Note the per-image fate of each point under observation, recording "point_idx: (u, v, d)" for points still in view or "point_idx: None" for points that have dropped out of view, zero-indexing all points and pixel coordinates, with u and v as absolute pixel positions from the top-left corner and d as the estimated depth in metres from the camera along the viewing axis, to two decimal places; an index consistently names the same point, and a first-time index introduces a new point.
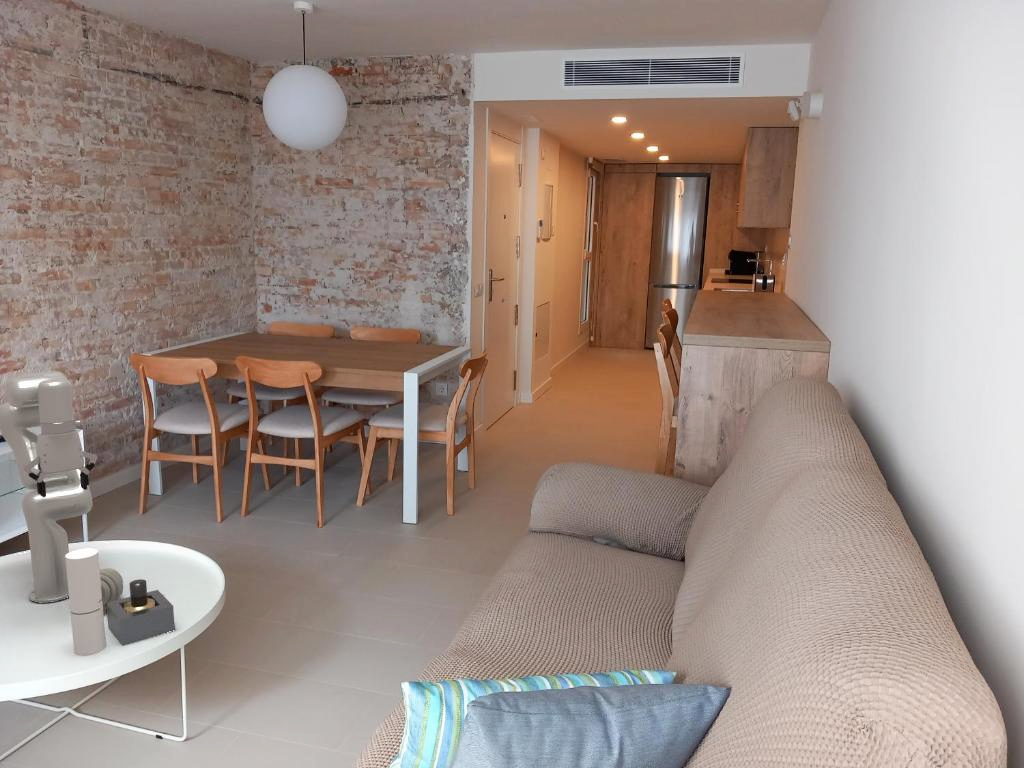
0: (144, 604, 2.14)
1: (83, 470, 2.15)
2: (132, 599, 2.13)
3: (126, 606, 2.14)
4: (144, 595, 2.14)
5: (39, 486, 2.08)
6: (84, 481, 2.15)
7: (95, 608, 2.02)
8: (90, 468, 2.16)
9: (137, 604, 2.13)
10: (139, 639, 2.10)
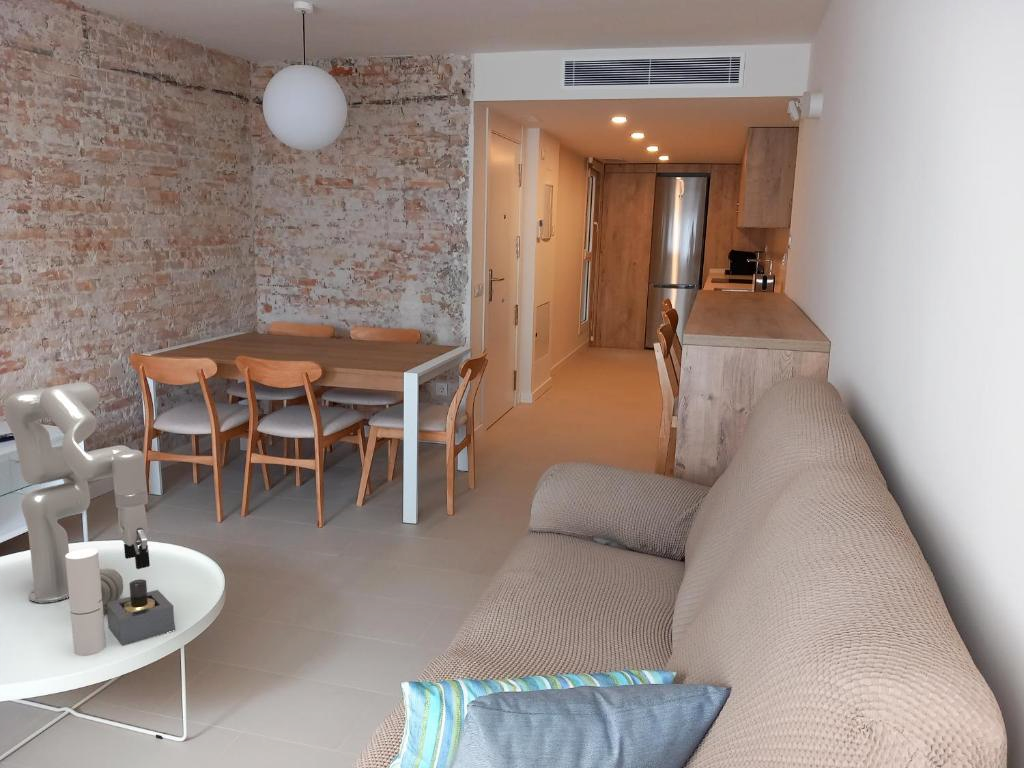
0: (144, 604, 2.14)
1: None
2: (132, 599, 2.13)
3: (126, 606, 2.14)
4: (144, 595, 2.14)
5: (146, 556, 2.09)
6: None
7: (95, 608, 2.02)
8: None
9: (137, 604, 2.13)
10: (139, 639, 2.10)
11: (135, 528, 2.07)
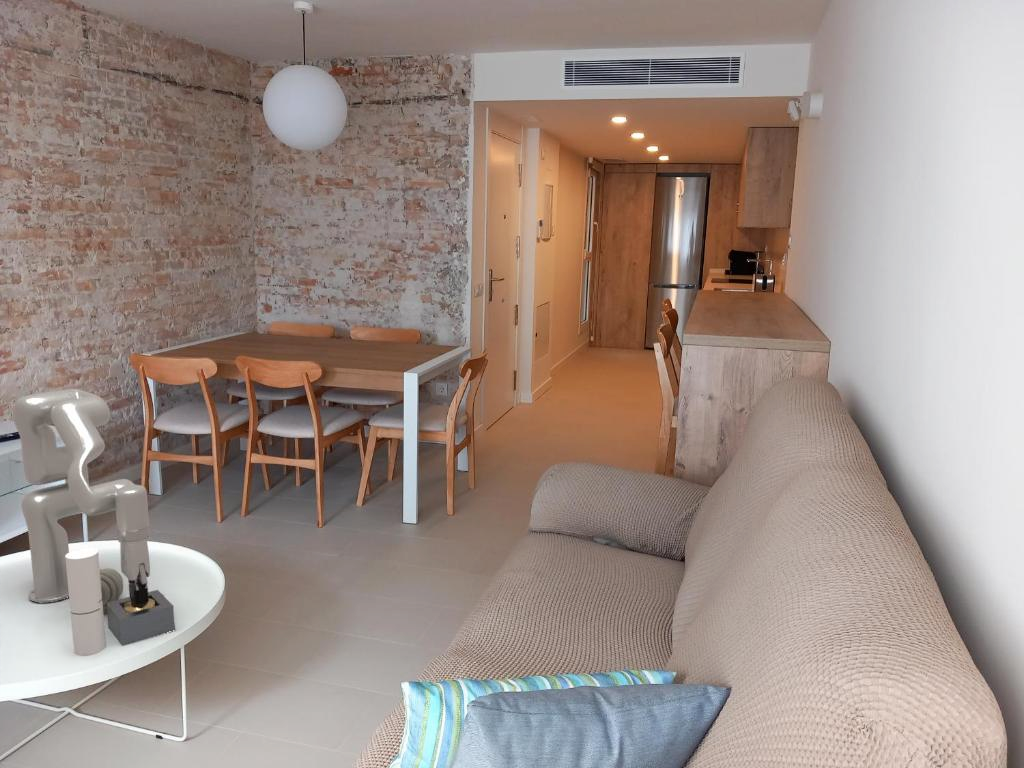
0: (144, 604, 2.14)
1: (140, 575, 2.17)
2: (132, 599, 2.13)
3: (126, 606, 2.14)
4: None
5: (145, 592, 2.13)
6: None
7: (95, 608, 2.02)
8: None
9: None
10: (139, 639, 2.10)
11: (137, 563, 2.09)
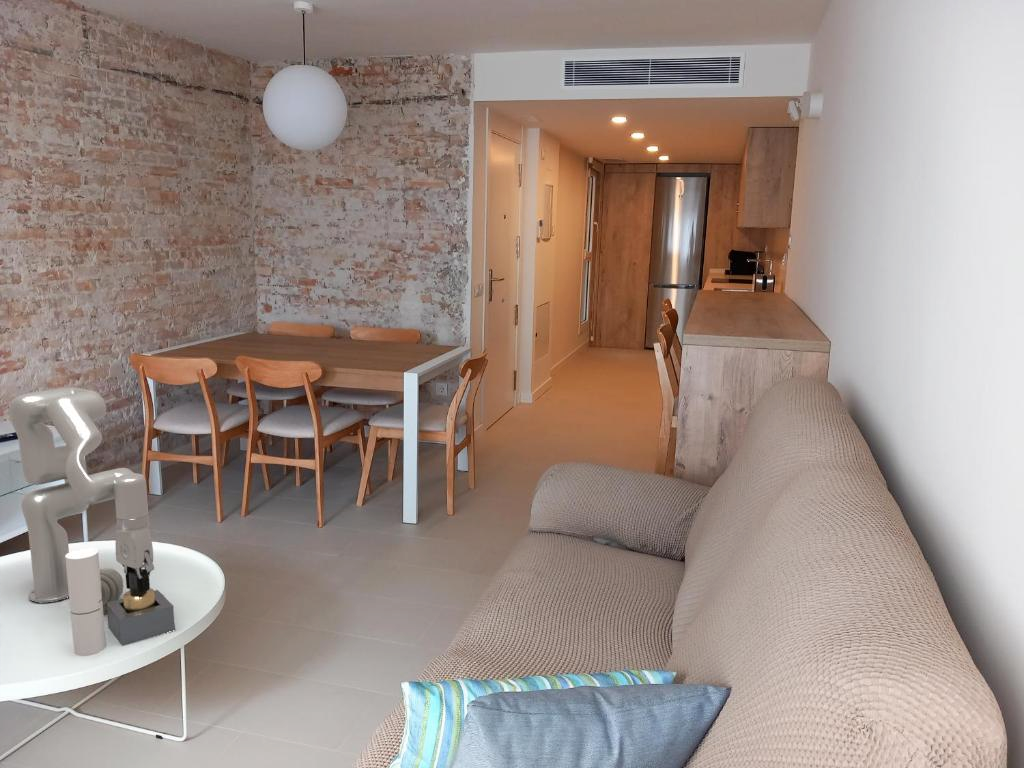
0: (143, 593, 2.14)
1: None
2: (131, 588, 2.13)
3: (125, 595, 2.13)
4: None
5: None
6: None
7: (95, 608, 2.02)
8: None
9: (136, 593, 2.13)
10: (139, 639, 2.10)
11: (143, 551, 2.09)
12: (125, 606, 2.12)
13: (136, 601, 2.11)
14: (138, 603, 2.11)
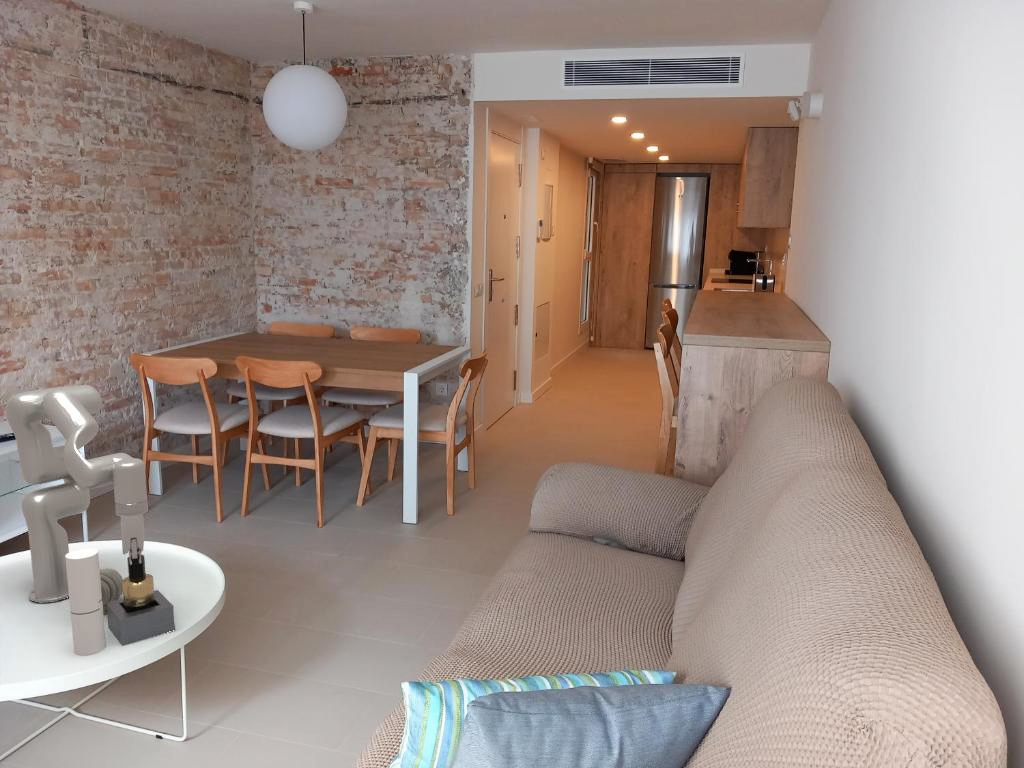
0: (142, 579, 2.13)
1: None
2: None
3: (124, 581, 2.13)
4: None
5: (139, 567, 2.11)
6: None
7: (95, 608, 2.02)
8: (138, 549, 2.17)
9: (135, 579, 2.12)
10: (139, 639, 2.10)
11: (129, 537, 2.07)
12: (124, 592, 2.12)
13: (135, 587, 2.11)
14: (137, 589, 2.11)
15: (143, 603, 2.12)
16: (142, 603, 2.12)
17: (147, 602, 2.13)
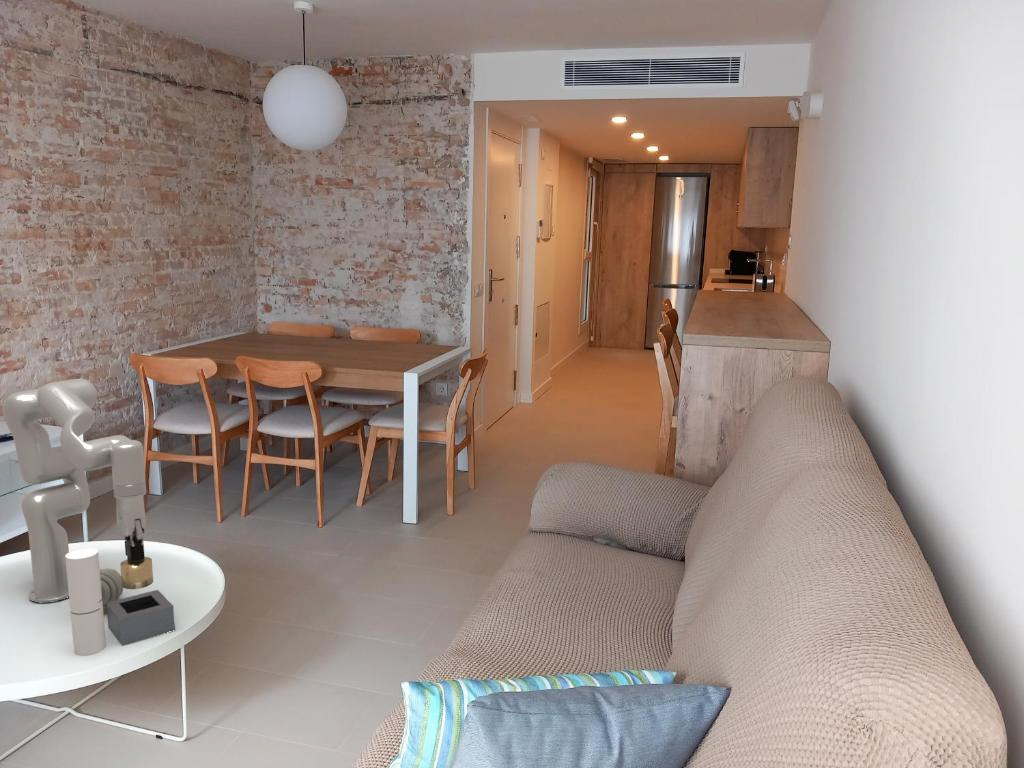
0: (141, 562, 2.12)
1: None
2: (129, 556, 2.11)
3: (122, 563, 2.12)
4: None
5: (141, 549, 2.10)
6: None
7: (95, 608, 2.02)
8: None
9: (134, 561, 2.11)
10: (139, 639, 2.10)
11: (133, 519, 2.06)
12: (122, 574, 2.11)
13: (134, 569, 2.10)
14: (136, 572, 2.10)
15: (142, 586, 2.11)
16: (141, 586, 2.11)
17: (146, 585, 2.12)
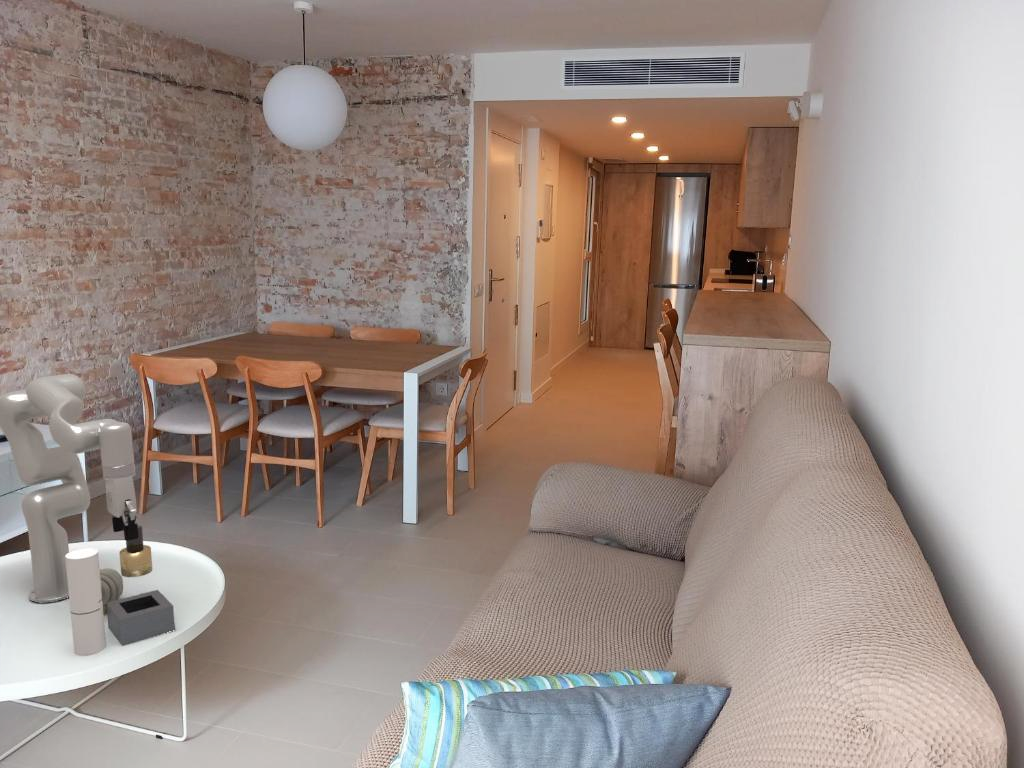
0: (140, 550, 2.12)
1: None
2: (128, 544, 2.11)
3: (121, 551, 2.11)
4: (139, 541, 2.11)
5: (134, 528, 2.09)
6: None
7: (95, 608, 2.02)
8: None
9: (133, 549, 2.11)
10: (139, 639, 2.10)
11: (123, 499, 2.07)
12: (121, 562, 2.10)
13: (133, 557, 2.09)
14: (135, 559, 2.10)
15: (141, 574, 2.11)
16: (140, 574, 2.11)
17: (145, 573, 2.12)
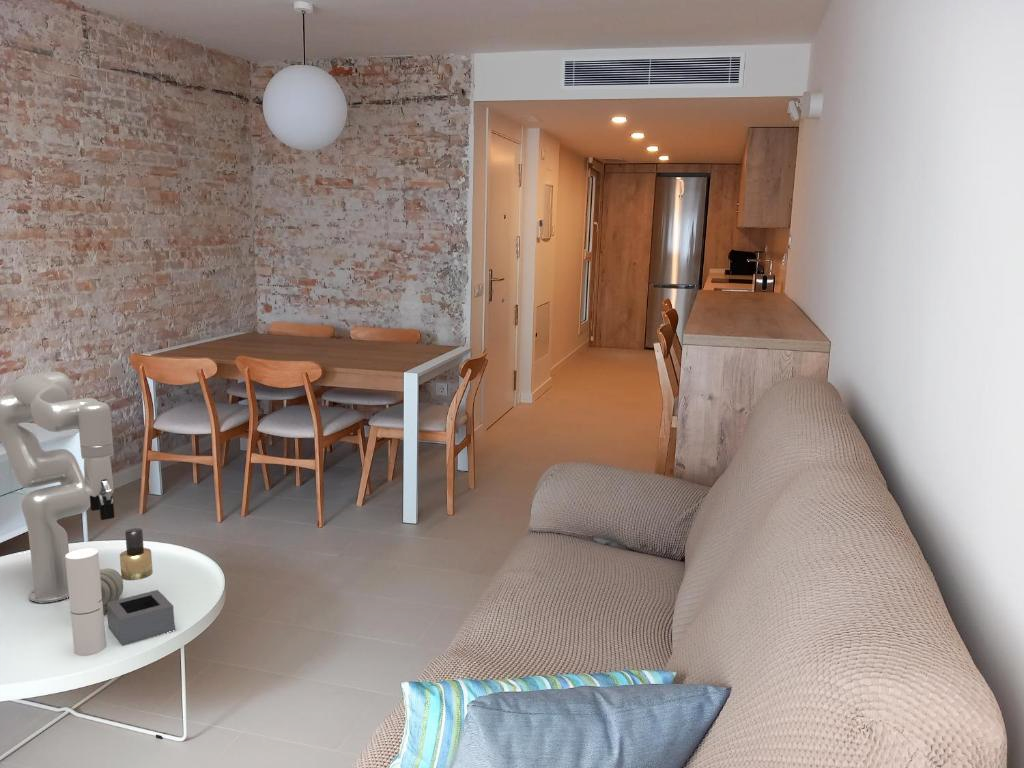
0: (140, 553, 2.12)
1: None
2: (128, 547, 2.11)
3: (121, 555, 2.11)
4: (140, 544, 2.12)
5: (110, 508, 2.11)
6: None
7: (95, 608, 2.02)
8: None
9: (133, 552, 2.11)
10: (139, 639, 2.10)
11: (100, 479, 2.09)
12: (122, 565, 2.10)
13: (133, 560, 2.09)
14: (135, 563, 2.10)
15: (141, 577, 2.11)
16: (140, 577, 2.11)
17: (145, 576, 2.12)
